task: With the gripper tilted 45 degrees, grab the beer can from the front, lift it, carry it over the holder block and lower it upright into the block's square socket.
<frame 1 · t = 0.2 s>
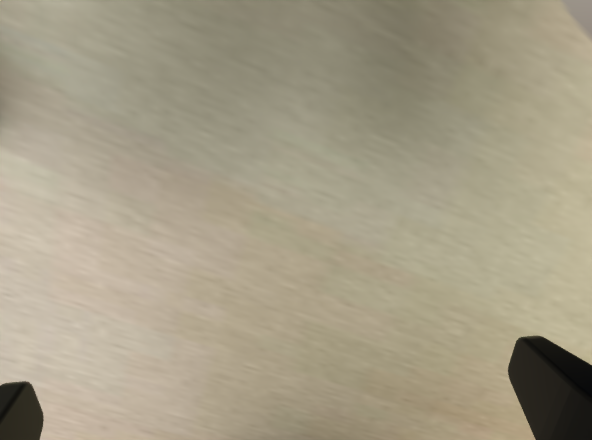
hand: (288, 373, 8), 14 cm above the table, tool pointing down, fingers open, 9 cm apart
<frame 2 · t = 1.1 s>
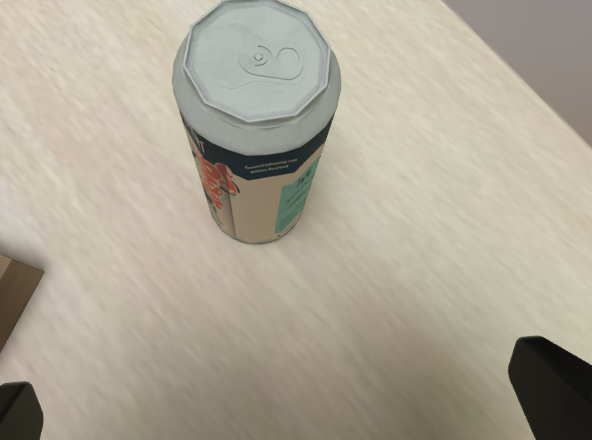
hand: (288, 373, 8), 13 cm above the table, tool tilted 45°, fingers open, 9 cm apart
beer can: (256, 202, 24), on the table
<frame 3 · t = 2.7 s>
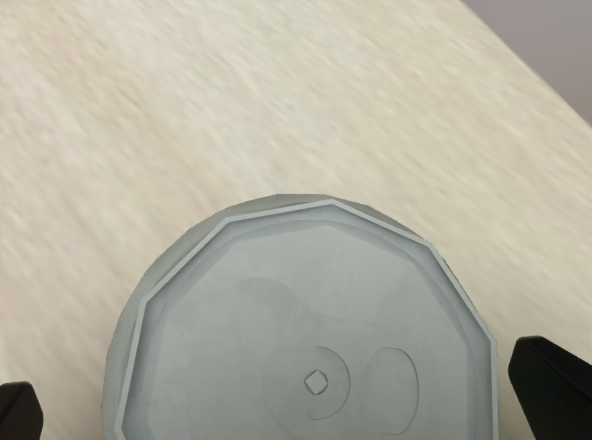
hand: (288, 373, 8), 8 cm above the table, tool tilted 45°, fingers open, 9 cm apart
beer can: (272, 365, 16), on the table
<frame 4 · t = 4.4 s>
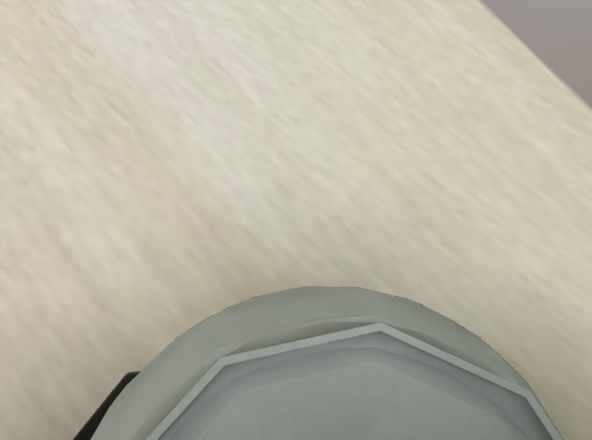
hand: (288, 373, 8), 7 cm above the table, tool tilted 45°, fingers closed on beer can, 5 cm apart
beer can: (276, 410, 15), on the table, touching gripper
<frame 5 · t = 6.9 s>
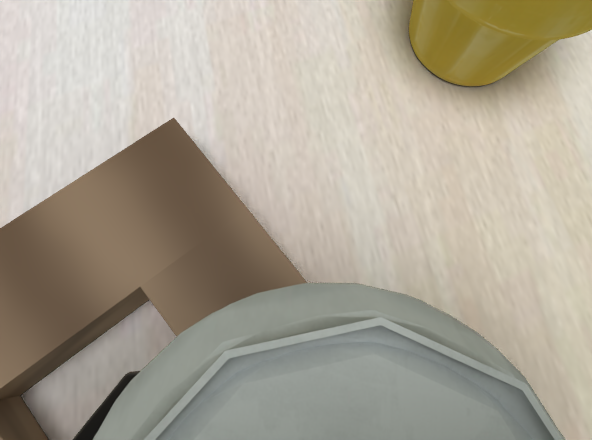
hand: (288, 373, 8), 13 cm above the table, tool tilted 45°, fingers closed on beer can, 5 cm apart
plant pot: (458, 41, 27), on the table
holder block: (134, 406, 20), on the table
beer can: (277, 408, 15), point 6 cm above the table, touching gripper
when the fingers open (8 cm above the table, at t = 9.5 s): beer can drops 1 cm, resting in holder block.
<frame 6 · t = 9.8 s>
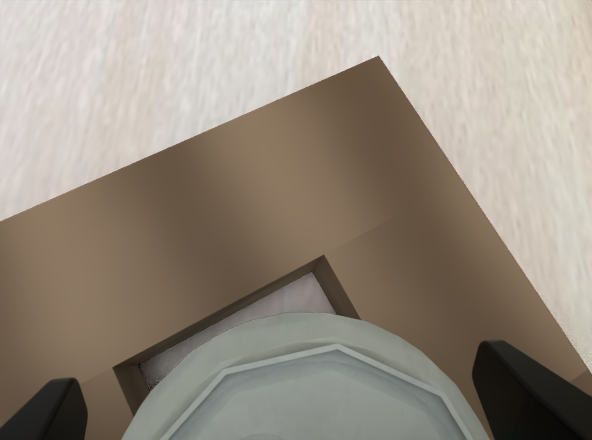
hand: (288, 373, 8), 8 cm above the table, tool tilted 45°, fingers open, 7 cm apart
holder block: (274, 406, 16), on the table
beer can: (274, 410, 16), resting in holder block
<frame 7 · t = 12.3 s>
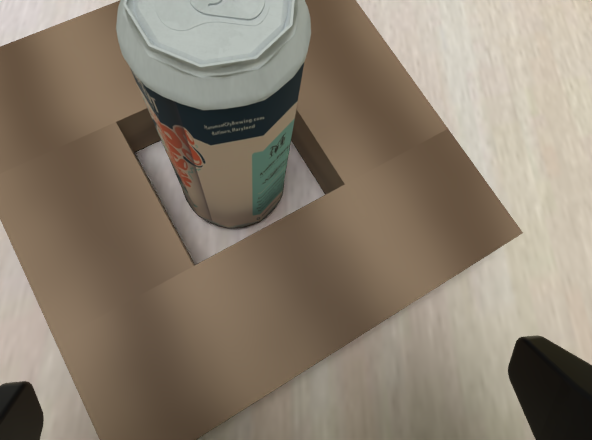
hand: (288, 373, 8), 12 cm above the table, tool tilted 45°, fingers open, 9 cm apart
holder block: (233, 179, 22), on the table
beer can: (234, 184, 22), resting in holder block
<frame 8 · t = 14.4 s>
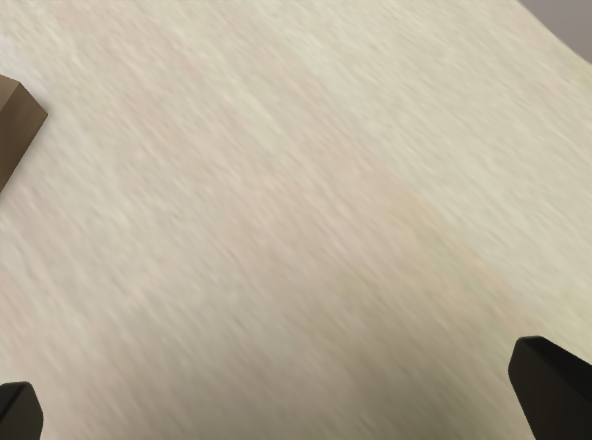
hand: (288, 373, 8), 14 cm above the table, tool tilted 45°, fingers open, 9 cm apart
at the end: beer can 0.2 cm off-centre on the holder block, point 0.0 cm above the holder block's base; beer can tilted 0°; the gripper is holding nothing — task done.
